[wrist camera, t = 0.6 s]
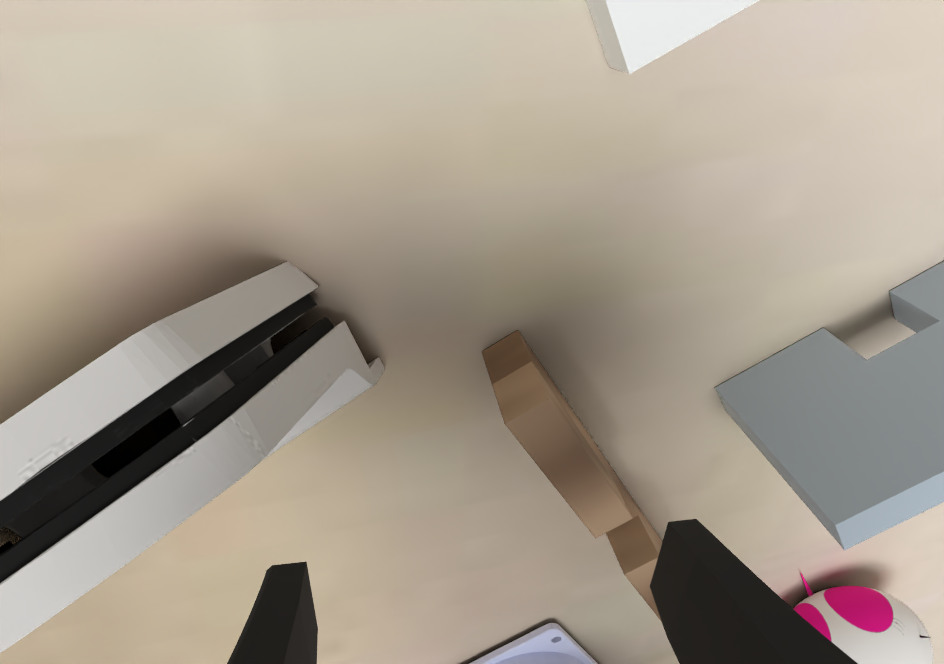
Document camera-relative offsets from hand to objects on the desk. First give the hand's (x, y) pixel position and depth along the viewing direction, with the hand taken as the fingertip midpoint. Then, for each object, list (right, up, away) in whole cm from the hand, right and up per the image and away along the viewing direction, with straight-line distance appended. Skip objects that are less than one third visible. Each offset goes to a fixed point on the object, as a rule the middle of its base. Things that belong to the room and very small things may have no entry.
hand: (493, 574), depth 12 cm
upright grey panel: (+15, +5, +11) cm, 19 cm away
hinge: (-12, +2, +9) cm, 15 cm away
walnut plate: (+5, -1, +13) cm, 14 cm away
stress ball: (+19, -10, +21) cm, 30 cm away
